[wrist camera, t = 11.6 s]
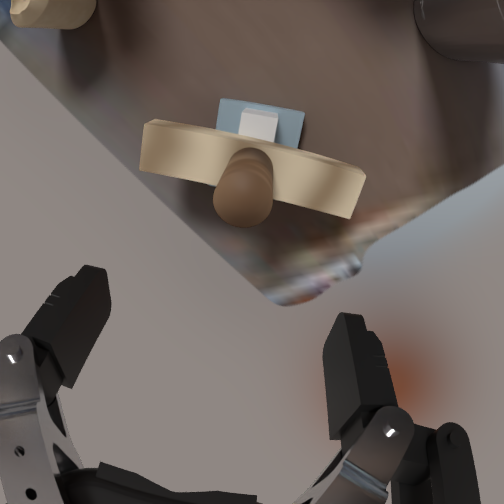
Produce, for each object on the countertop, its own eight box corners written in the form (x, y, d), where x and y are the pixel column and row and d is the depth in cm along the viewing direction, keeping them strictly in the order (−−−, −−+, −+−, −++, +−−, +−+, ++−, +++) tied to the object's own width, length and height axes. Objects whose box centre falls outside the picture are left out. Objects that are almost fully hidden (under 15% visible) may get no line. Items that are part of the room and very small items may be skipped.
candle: (104, 7, 22) (49, -6, 14) (69, 38, 24) (10, 39, 15) (86, -21, 20) (32, -37, 11) (52, 10, 21) (-5, 6, 13)
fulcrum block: (303, 112, 28) (309, 119, 24) (285, 193, 33) (287, 215, 28) (222, 98, 28) (212, 102, 23) (211, 180, 33) (200, 200, 28)
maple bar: (358, 167, 25) (393, 209, 18) (344, 207, 27) (369, 262, 20) (155, 119, 24) (105, 142, 17) (149, 161, 26) (102, 201, 19)
